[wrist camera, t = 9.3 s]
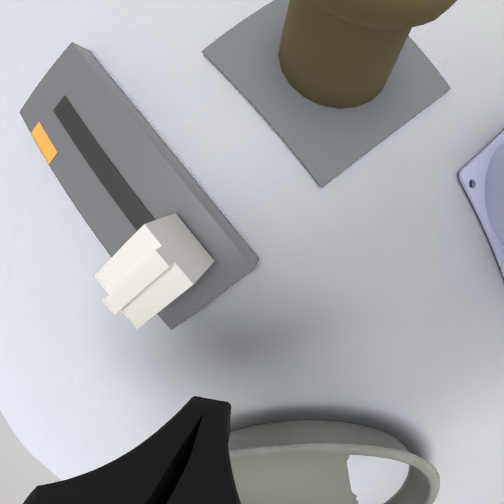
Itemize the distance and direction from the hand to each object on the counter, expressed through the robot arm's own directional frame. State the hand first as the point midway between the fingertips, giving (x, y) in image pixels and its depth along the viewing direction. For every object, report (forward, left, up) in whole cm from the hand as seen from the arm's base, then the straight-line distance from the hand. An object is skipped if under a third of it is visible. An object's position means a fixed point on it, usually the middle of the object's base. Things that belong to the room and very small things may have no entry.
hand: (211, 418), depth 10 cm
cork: (+8, -13, -8) cm, 18 cm away
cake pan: (-18, +8, -9) cm, 21 cm away
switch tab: (+5, 0, -6) cm, 8 cm away
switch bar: (+11, 0, -8) cm, 14 cm away
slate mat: (+8, -13, -8) cm, 18 cm away
